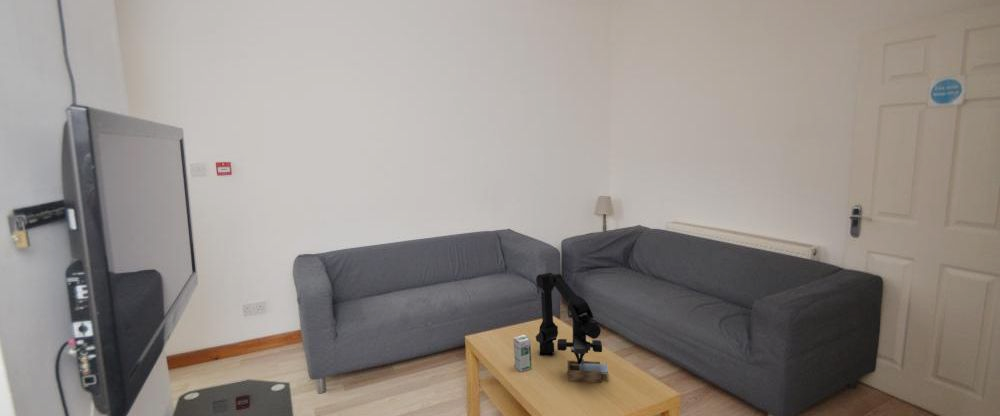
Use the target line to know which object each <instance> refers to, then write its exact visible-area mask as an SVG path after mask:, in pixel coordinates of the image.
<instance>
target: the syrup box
mask: <svg viewBox="0 0 1000 416" xmlns="http://www.w3.org/2000/svg"><path fill="white" fill-rule="evenodd" d="M512 339H513V355H514V356H513V357H514V359H513V360H514V367H515V369H517V370H518V371H519V372H520V373H522V372H525V371H528V370H531V369H532V368H533V367H532V366H533V365H532V350H531V349H532V348H531V346H532V344H531V343H532V342H531V338H530V337H529V336H528V335H526V334H522V335H519V336H514V337H513V338H512Z"/></svg>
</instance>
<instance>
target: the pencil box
mask: <svg viewBox="0 0 1000 416" xmlns="http://www.w3.org/2000/svg"><path fill="white" fill-rule="evenodd" d="M584 363H590V364H601V362H600V361H596V360H595V361H593V360H591V361H589V360H584ZM567 382H578V383H579V382H582V383H583V382H585V383H602V374H601V371H580V370H579V364H578V361H577V360H569V359H568V360H567Z"/></svg>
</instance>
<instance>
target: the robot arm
mask: <svg viewBox="0 0 1000 416" xmlns="http://www.w3.org/2000/svg"><path fill="white" fill-rule="evenodd" d="M535 278H536V279H535V280H536V282H535V283H536V286H537V288H538V289H539V291H540V297H541V298H540V299H541V313H542V315H541V319H542V321H541V323H540V325H539V333H538V334H536V336H535V341H536V342H537V343H539V356H550V357H551V356H552V357H553V356H554V354H555V342H554V341H557V344H556V345H557V347H556V348H557V351H566V350H567V348H570V352H571V353H573V354H574V355H575V358H576V361H578V364H581V361H582V359H583V358H584V357H585V355H586V354H588V353H589V351H591V349H592V351H593V352H594V353H602V352H603V345H602V344H603V343H602V341H601V340H599V339H598V338H599V336H600V335H601V331H602V330H601V326H599V325H598V324H597V321H595V320H592V319H594V315H593V312H592V310H591V308H590V305H589V304H588V302H587V301H586V300H585V299H584V298H583V297H581V296H580V295H577V294H576V293H575V292H574V291H573V289H572V288H571V287H570V285H569V284H568V283H567V282H566V281H565V279H564V278H563V276H562V274H560V273H553V272H544V273H541V274H540V273H539V274H538V275H537V276H536V277H535ZM554 288H555V289H556V290H557V291H558V292H559V293H560V295H561V297H562V298H563V299H564V300H565V302H566V304H567V309H568V311H569V312H570V315H569V318H570V319H572V342H571V341H570V342H568V341H567V339H566V338H558V334H559V328H558V325H556V323H555V322H554V314H553V297H552V296H553V294H552V293H553V290H554ZM587 337H589V338H590V339H592V340H591V341H587ZM557 338H558V339H557ZM595 339H596V340H595ZM597 339H598V340H597Z"/></svg>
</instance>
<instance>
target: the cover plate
mask: <svg viewBox="0 0 1000 416" xmlns="http://www.w3.org/2000/svg"><path fill="white" fill-rule="evenodd" d="M584 361H585V359H582V361H581V364H579V370H580V371H601V375H602V374H603V375H604V374H605V375H608V374H609V369H608V364H607V363H600V364H590V363H584Z"/></svg>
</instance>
